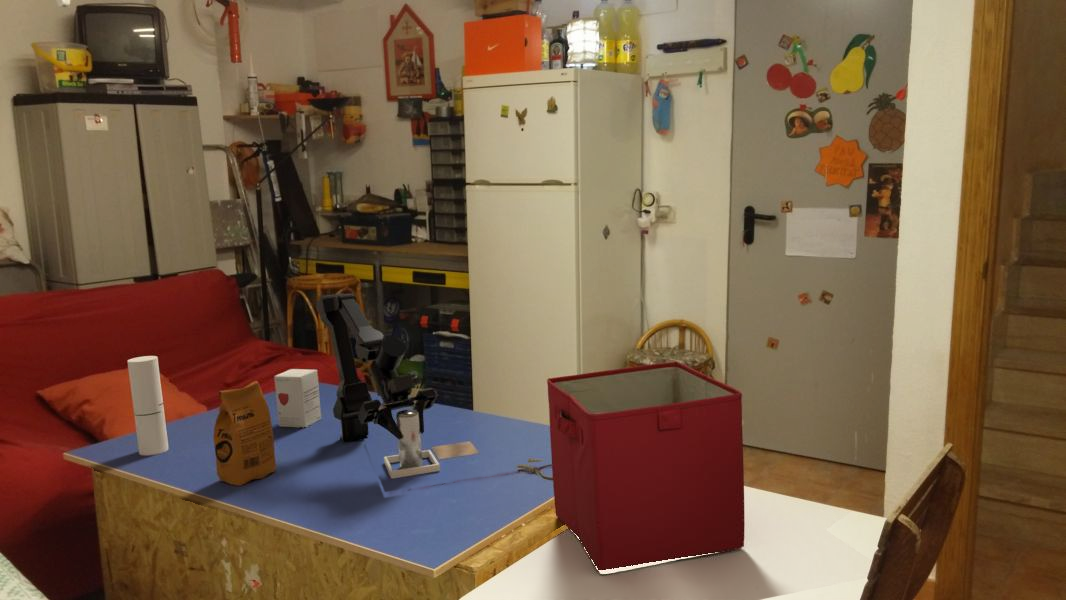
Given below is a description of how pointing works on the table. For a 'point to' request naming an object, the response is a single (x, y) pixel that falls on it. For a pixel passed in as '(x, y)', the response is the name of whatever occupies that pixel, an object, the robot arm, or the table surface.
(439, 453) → the walnut board
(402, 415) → the shiny metal canister
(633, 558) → the storage cube
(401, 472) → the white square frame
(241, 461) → the coffee package
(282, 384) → the supplement box
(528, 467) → the extension cord
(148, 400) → the cylindrical container
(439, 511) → the table surface
